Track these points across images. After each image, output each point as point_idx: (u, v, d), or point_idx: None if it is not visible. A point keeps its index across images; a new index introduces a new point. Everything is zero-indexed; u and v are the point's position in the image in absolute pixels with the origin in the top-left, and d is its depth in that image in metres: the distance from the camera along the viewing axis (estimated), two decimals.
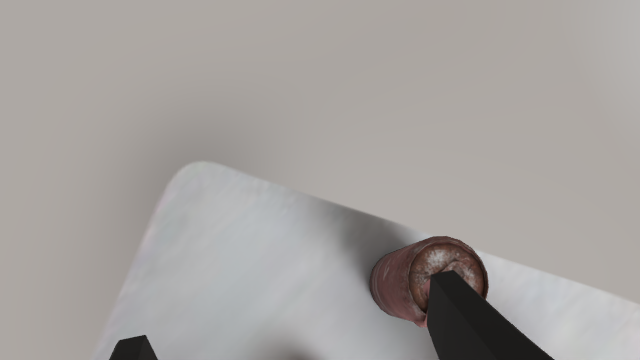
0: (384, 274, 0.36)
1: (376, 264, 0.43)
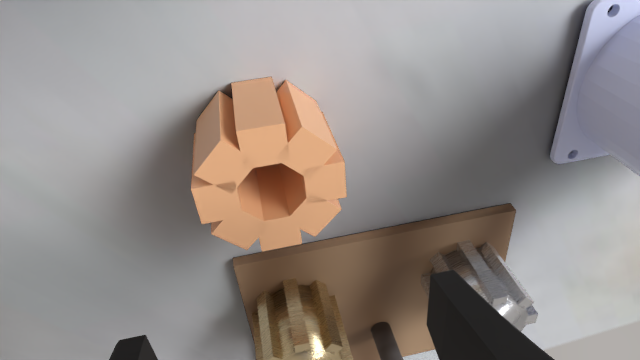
0: None
1: None
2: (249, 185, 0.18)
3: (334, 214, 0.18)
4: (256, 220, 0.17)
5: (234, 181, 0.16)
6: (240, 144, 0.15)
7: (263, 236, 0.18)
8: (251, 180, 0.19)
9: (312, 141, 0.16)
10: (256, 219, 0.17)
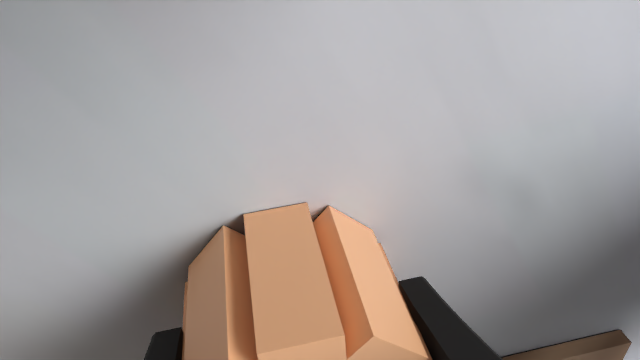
0: None
1: None
2: None
3: None
4: None
5: None
6: None
7: None
8: None
9: (388, 352, 0.09)
10: None
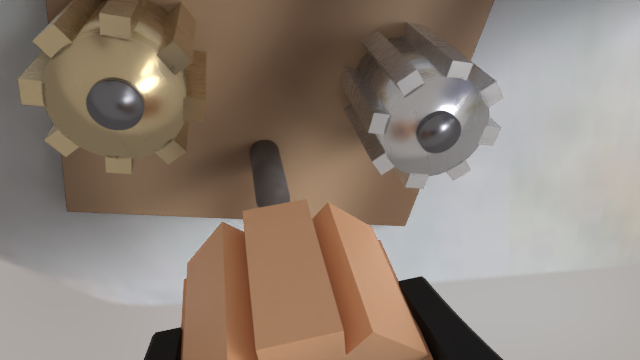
0: None
1: None
2: None
3: None
4: None
5: None
6: None
7: None
8: None
9: (388, 348, 0.09)
10: None
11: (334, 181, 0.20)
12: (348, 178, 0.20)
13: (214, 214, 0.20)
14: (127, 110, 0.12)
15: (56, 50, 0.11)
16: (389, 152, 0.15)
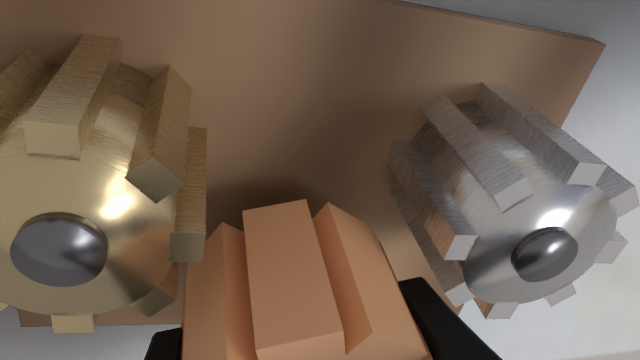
0: None
1: None
2: None
3: None
4: None
5: None
6: None
7: None
8: None
9: (387, 348, 0.09)
10: None
11: None
12: None
13: None
14: (79, 259, 0.08)
15: None
16: (470, 280, 0.10)
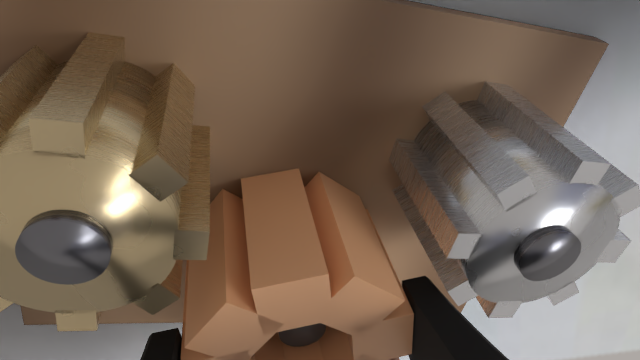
0: None
1: None
2: None
3: None
4: None
5: (247, 350, 0.10)
6: (257, 305, 0.10)
7: None
8: None
9: (369, 293, 0.10)
10: None
11: None
12: None
13: None
14: (84, 257, 0.08)
15: None
16: (473, 279, 0.10)
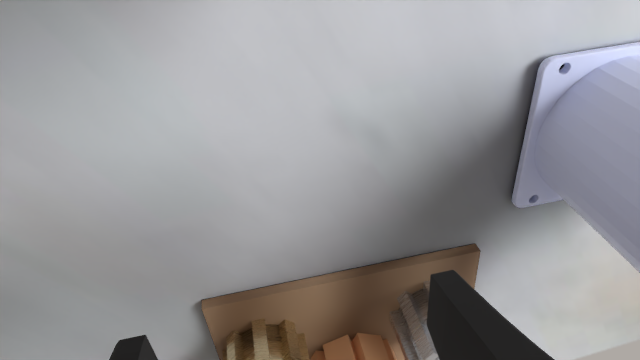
0: None
1: None
2: None
3: None
4: None
5: None
6: None
7: None
8: None
9: None
10: None
11: None
12: None
13: None
14: None
15: None
16: None
